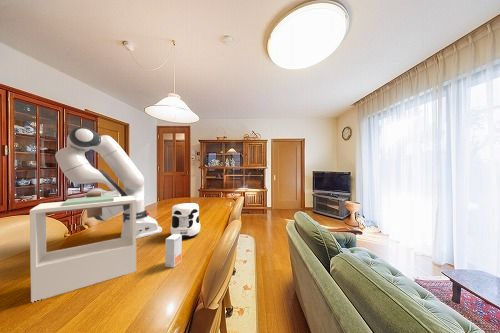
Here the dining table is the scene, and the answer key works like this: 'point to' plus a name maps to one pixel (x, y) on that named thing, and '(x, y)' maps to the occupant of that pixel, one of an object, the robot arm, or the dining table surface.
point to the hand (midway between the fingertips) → (94, 203)
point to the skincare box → (173, 250)
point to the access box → (78, 251)
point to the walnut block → (95, 211)
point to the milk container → (185, 220)
